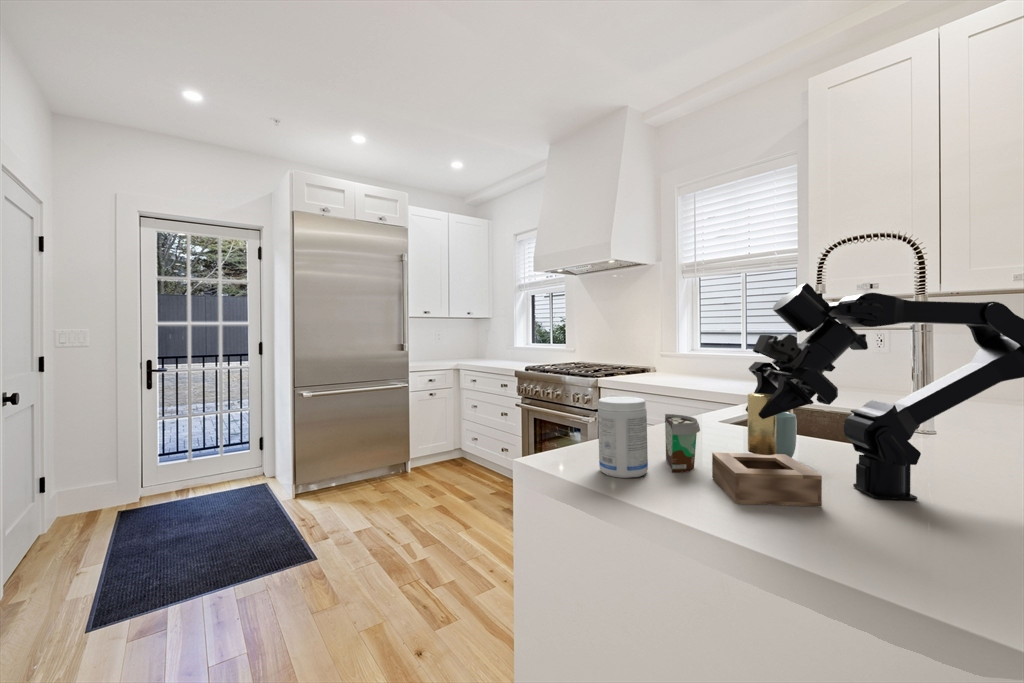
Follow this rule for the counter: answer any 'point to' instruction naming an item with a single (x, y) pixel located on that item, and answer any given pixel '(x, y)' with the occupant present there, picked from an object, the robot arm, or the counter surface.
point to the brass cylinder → (760, 426)
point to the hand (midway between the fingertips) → (753, 414)
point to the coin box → (766, 479)
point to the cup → (786, 433)
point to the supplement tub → (622, 436)
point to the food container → (680, 442)
